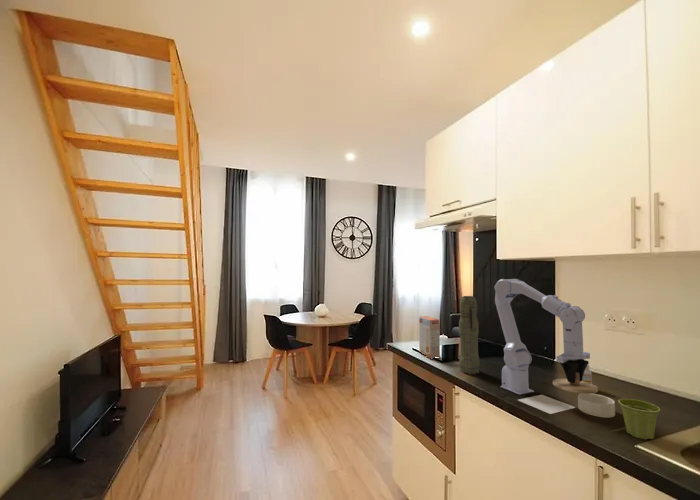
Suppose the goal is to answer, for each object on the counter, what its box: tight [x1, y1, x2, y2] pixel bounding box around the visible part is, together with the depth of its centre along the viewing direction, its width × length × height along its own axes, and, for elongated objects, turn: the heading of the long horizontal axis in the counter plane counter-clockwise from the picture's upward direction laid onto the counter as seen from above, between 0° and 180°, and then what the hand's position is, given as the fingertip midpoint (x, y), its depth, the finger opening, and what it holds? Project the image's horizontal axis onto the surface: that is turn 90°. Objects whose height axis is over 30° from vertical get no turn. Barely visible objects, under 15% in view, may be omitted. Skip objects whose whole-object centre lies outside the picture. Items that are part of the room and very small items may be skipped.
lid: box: [552, 372, 599, 394], centre depth 118 cm, size 13×13×5 cm
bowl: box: [577, 393, 616, 419], centre depth 116 cm, size 10×10×4 cm
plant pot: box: [617, 398, 661, 440], centre depth 100 cm, size 9×9×9 cm
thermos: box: [458, 295, 480, 375], centre depth 161 cm, size 9×12×35 cm
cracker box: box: [418, 315, 441, 359], centre depth 189 cm, size 14×6×21 cm, turn 12°
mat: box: [517, 394, 577, 415], centre depth 122 cm, size 13×13×1 cm
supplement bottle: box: [582, 364, 593, 384], centre depth 138 cm, size 5×5×10 cm
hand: (574, 381), depth 118 cm, fingers closed on lid, 3 cm apart
